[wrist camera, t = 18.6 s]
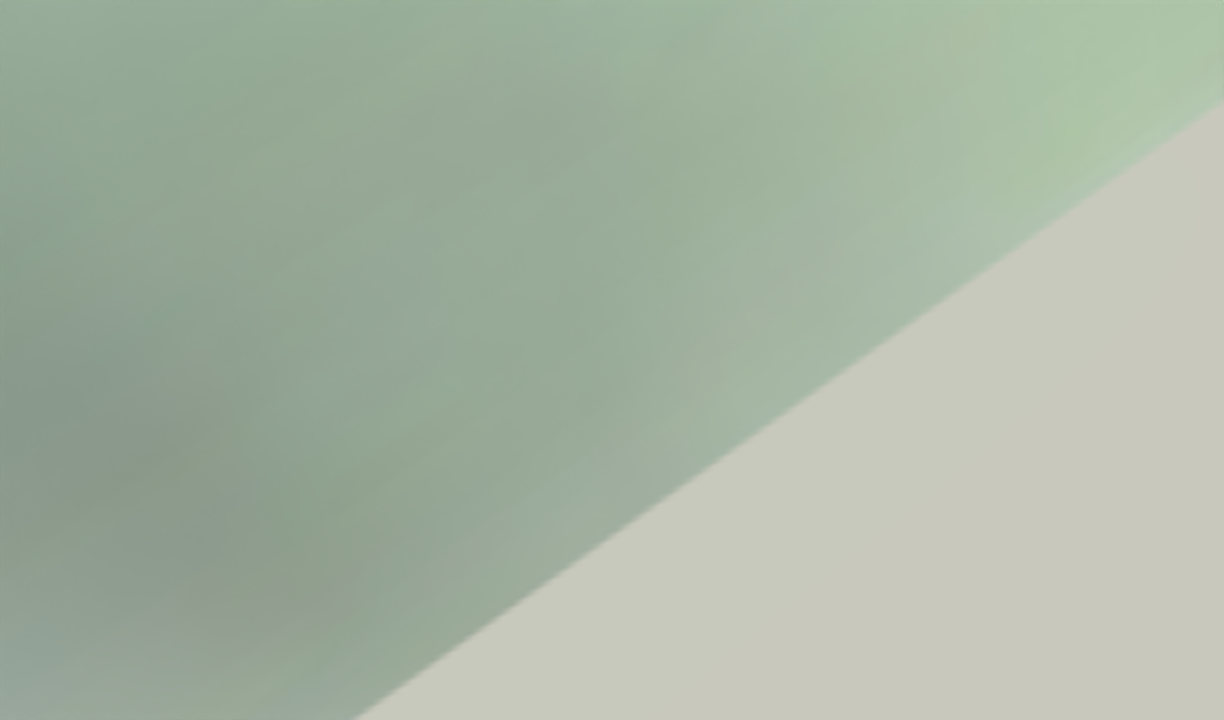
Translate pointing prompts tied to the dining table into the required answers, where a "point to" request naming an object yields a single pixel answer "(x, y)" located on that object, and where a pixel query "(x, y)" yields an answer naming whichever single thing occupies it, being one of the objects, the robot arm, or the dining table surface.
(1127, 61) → the dining table surface
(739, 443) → the dining table surface
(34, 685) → the dining table surface
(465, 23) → the dining table surface
